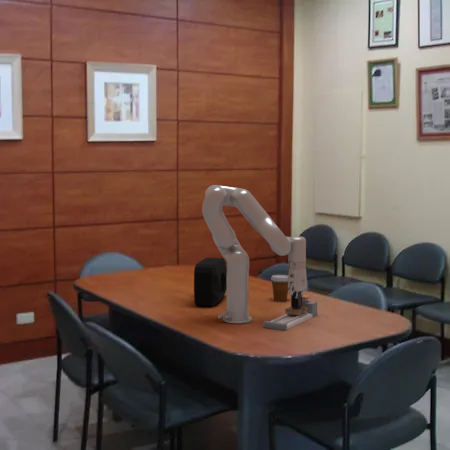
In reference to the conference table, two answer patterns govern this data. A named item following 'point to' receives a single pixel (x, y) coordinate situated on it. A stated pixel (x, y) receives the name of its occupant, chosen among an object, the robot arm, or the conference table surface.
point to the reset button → (305, 298)
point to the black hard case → (209, 281)
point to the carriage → (297, 308)
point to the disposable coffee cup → (280, 287)
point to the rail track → (292, 318)
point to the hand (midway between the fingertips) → (296, 305)
